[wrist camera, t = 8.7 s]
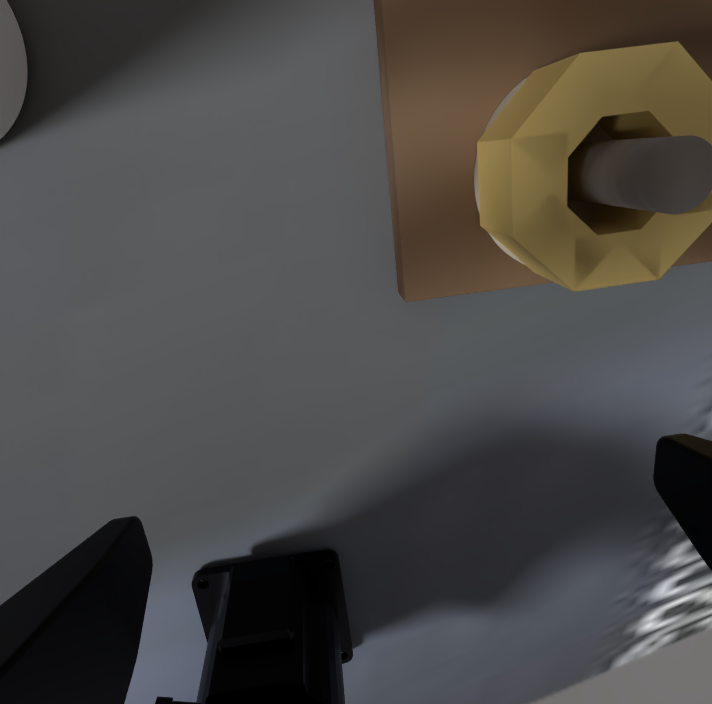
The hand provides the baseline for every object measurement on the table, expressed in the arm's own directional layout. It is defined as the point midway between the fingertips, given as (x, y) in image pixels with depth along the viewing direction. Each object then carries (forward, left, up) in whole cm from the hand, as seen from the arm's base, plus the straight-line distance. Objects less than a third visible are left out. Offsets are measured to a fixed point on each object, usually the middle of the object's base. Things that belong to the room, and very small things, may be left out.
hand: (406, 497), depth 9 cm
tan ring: (+4, -8, -10) cm, 14 cm away
